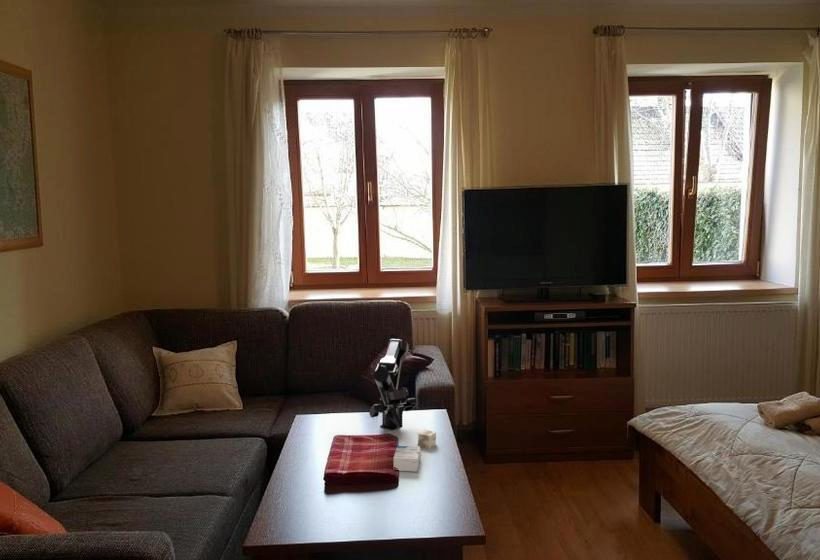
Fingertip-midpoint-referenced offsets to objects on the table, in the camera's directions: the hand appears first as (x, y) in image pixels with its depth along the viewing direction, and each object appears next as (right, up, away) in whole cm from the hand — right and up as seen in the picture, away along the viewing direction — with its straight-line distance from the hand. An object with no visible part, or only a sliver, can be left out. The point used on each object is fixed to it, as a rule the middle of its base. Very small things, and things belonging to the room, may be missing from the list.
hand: (401, 427), depth 236 cm
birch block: (+10, -8, +5) cm, 14 cm away
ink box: (+3, -7, -8) cm, 11 cm away
